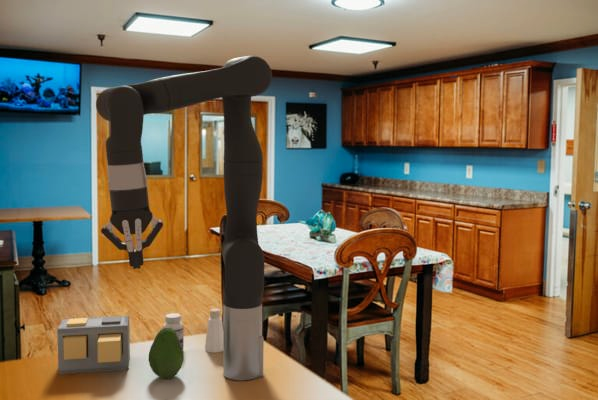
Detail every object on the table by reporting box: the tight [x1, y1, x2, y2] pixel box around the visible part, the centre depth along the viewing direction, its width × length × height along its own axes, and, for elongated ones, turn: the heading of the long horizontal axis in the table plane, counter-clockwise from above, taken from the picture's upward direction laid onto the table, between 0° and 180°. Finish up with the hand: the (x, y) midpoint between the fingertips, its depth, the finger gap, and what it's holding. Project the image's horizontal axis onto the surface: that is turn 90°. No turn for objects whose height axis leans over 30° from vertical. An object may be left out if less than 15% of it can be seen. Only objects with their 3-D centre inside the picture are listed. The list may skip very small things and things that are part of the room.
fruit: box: [148, 327, 184, 380], centre depth 139 cm, size 8×8×12 cm
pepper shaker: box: [204, 307, 223, 354], centre depth 158 cm, size 5×5×11 cm
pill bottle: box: [162, 312, 185, 350], centre depth 157 cm, size 5×5×10 cm
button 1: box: [63, 335, 88, 360], centre depth 143 cm, size 5×8×5 cm, turn 13°
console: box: [56, 315, 131, 375], centre depth 145 cm, size 16×8×12 cm, turn 103°
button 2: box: [98, 333, 122, 363], centre depth 141 cm, size 5×8×5 cm, turn 13°
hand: (136, 267), depth 123 cm, fingers closed
